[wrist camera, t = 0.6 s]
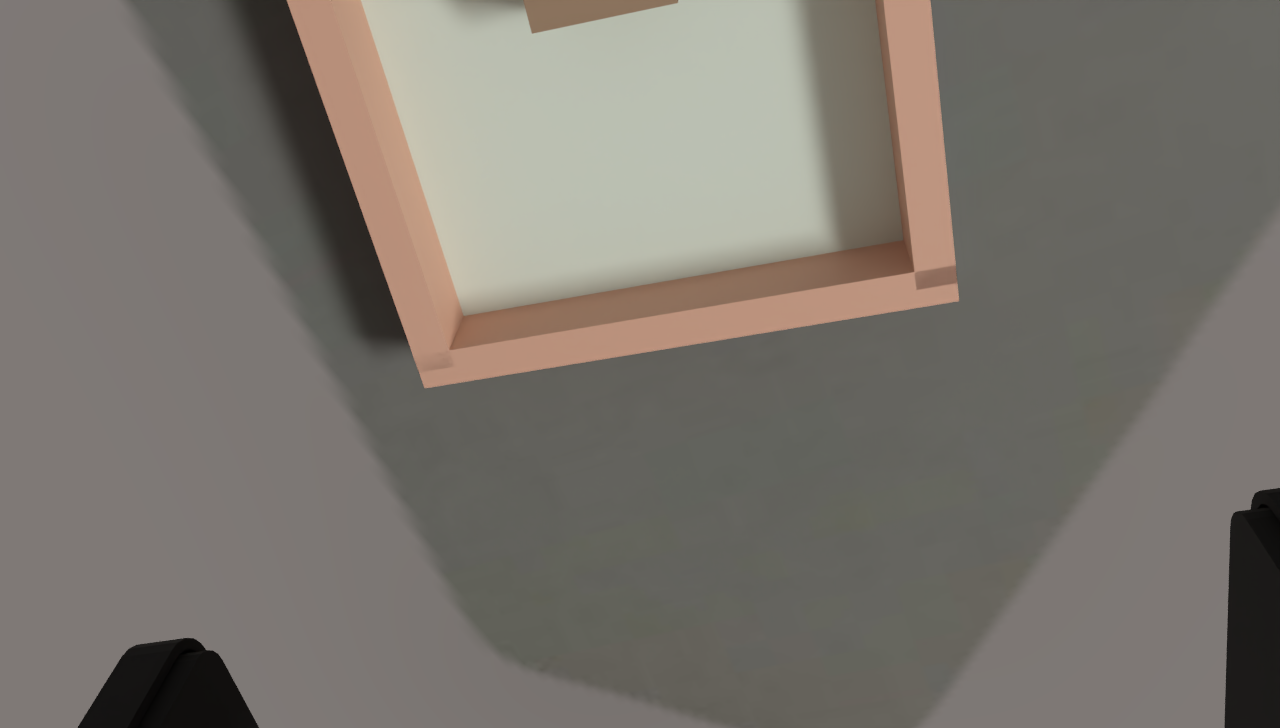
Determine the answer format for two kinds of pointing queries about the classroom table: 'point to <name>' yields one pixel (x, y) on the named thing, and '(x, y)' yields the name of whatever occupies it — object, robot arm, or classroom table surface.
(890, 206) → the mat
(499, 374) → the pocket
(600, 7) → the t block
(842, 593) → the classroom table surface
